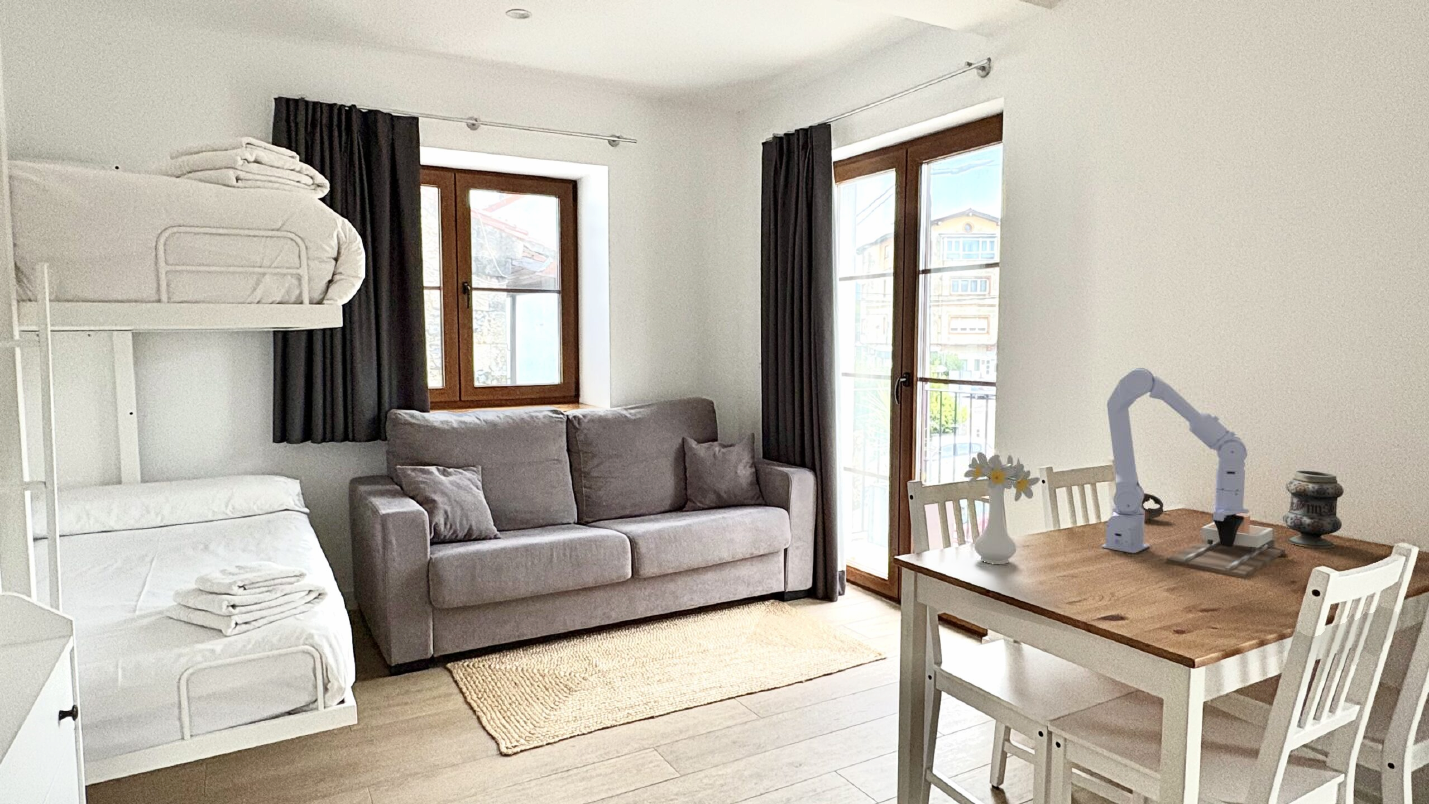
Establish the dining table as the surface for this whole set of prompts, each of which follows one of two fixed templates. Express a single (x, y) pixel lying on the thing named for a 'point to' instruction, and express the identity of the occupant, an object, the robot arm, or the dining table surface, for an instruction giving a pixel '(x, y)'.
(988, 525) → the flower vase
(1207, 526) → the white square tray
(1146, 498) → the pottery mug
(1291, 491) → the apothecary jar
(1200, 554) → the track board
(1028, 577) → the dining table surface
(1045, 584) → the dining table surface
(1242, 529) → the terracotta block
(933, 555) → the dining table surface
